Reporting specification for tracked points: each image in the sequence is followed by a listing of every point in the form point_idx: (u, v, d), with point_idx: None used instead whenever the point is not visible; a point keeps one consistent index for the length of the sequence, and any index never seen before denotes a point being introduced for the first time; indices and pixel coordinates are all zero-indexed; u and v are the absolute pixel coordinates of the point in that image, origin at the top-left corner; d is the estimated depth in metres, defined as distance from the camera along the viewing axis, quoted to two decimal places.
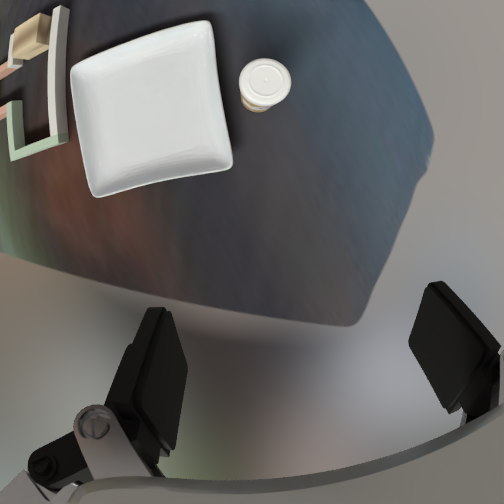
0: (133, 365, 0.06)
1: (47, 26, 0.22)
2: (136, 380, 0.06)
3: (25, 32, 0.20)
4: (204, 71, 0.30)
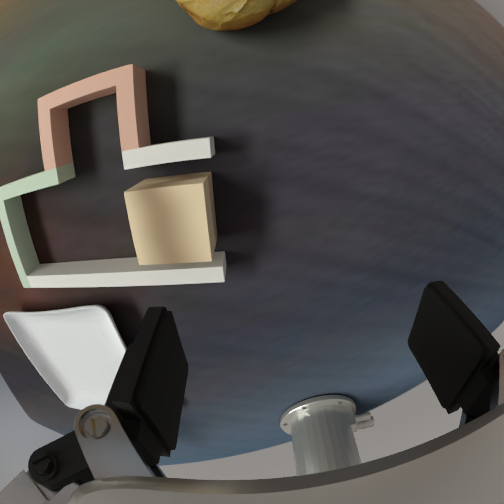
0: (134, 365, 0.06)
1: None
2: (137, 380, 0.06)
3: (174, 227, 0.20)
4: None
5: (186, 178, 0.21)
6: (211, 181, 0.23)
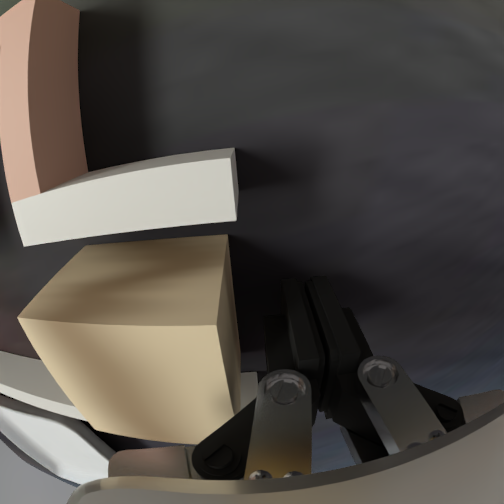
0: (302, 326, 0.07)
1: None
2: (313, 338, 0.07)
3: (148, 402, 0.07)
4: None
5: (166, 268, 0.08)
6: (229, 259, 0.10)
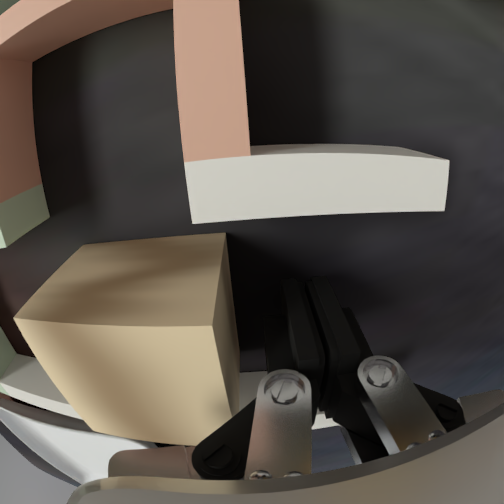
0: (302, 326, 0.07)
1: None
2: (313, 338, 0.07)
3: (145, 403, 0.07)
4: None
5: (163, 268, 0.08)
6: (227, 259, 0.10)
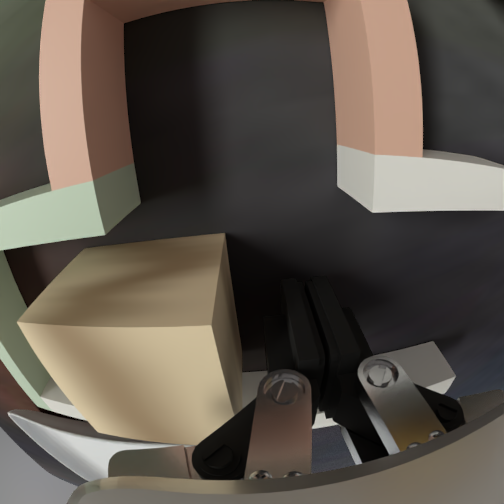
0: (302, 326, 0.07)
1: None
2: (313, 338, 0.07)
3: (148, 403, 0.07)
4: None
5: (163, 269, 0.08)
6: (226, 259, 0.10)
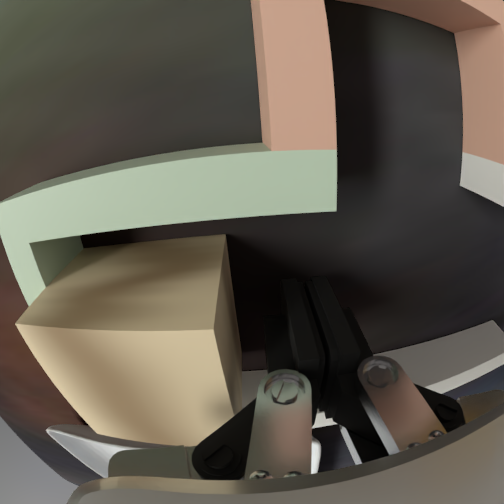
0: (302, 326, 0.07)
1: None
2: (313, 338, 0.07)
3: (148, 406, 0.07)
4: None
5: (163, 271, 0.08)
6: (227, 260, 0.10)
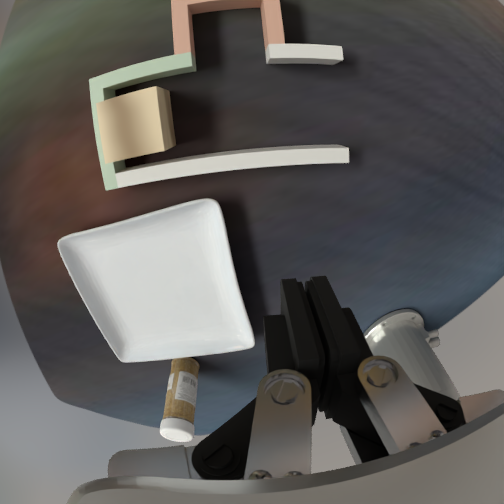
0: (302, 326, 0.07)
1: None
2: (313, 338, 0.07)
3: (133, 125, 0.21)
4: (200, 338, 0.37)
5: None
6: (169, 97, 0.24)
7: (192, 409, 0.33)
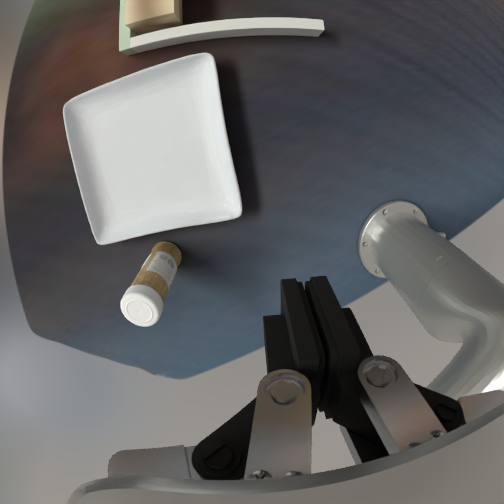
0: (302, 326, 0.07)
1: (160, 23, 0.23)
2: (313, 338, 0.07)
3: None
4: (184, 209, 0.35)
5: None
6: None
7: (164, 285, 0.31)
